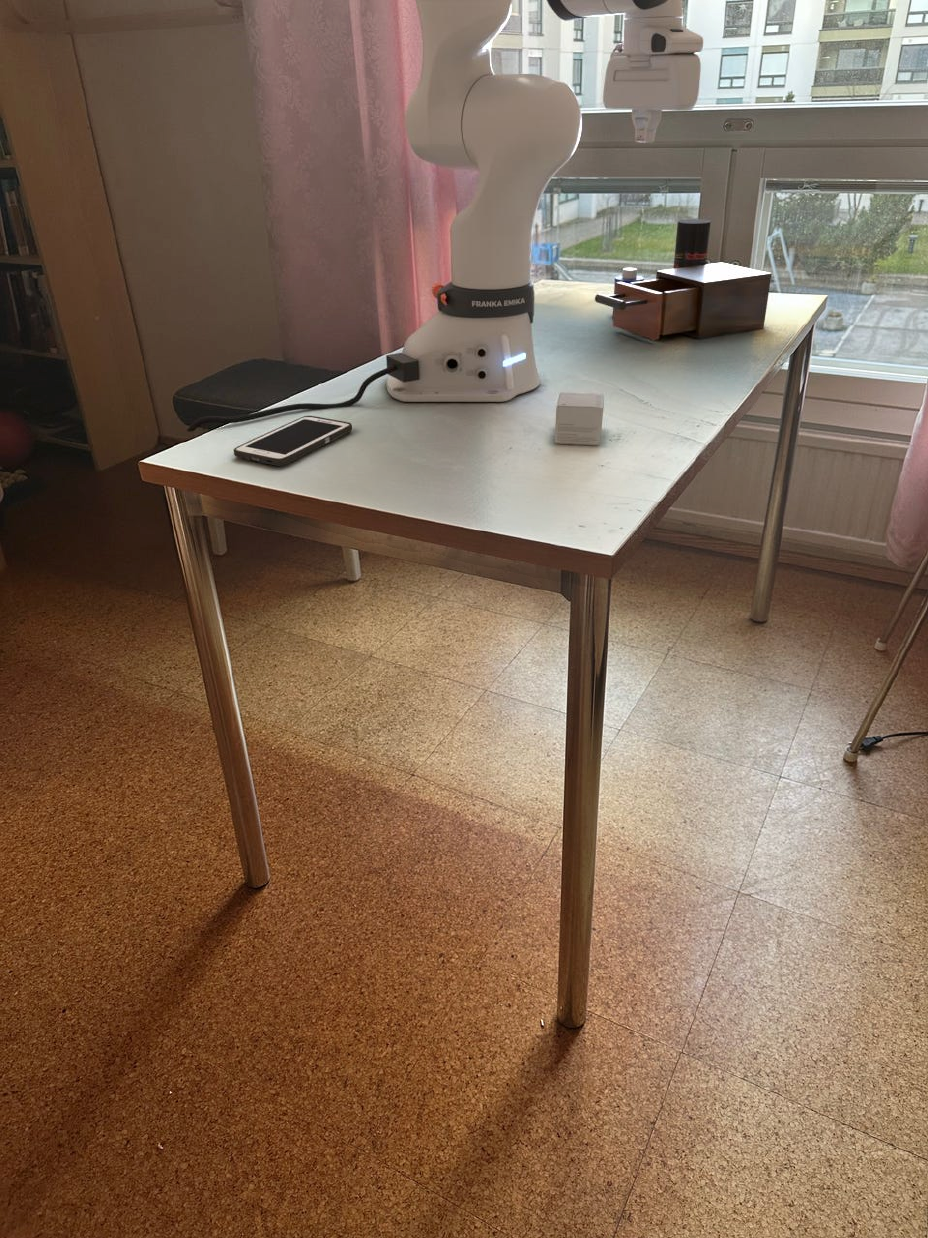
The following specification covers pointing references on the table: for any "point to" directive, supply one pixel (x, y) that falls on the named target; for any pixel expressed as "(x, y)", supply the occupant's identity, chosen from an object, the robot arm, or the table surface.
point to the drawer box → (725, 297)
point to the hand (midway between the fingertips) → (644, 142)
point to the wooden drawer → (654, 307)
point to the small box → (579, 418)
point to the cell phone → (292, 440)
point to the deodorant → (691, 242)
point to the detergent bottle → (628, 278)
